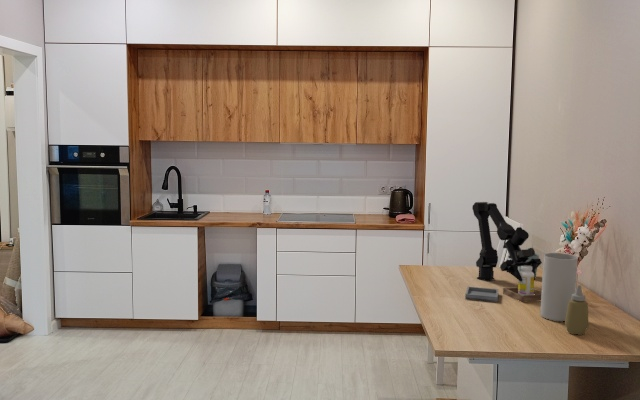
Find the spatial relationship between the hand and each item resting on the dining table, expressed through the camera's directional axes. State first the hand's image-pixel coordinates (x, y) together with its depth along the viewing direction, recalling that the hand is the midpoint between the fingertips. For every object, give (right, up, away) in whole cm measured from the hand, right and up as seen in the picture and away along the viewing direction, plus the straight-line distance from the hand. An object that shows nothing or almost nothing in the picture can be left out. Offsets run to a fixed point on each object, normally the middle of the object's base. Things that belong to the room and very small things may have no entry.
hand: (528, 280), depth 263 cm
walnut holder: (0, -8, +2) cm, 8 cm away
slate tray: (-20, -7, +1) cm, 22 cm away
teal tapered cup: (+14, -4, +40) cm, 42 cm away
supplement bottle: (0, -7, +2) cm, 7 cm away
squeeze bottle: (+2, -13, -45) cm, 47 cm away
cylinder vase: (+2, -11, -27) cm, 29 cm away
